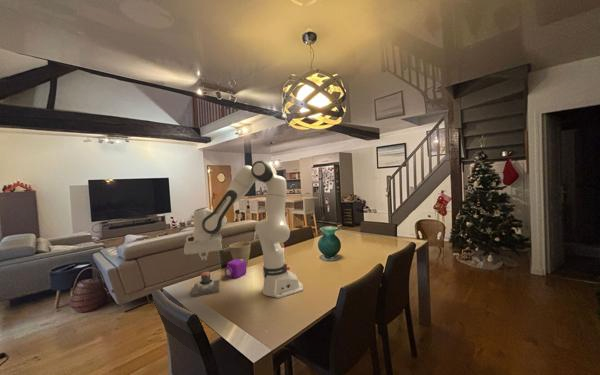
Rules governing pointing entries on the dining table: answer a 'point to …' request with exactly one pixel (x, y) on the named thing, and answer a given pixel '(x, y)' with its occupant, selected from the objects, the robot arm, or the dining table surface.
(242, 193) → the robot arm
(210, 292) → the octagon ring plate
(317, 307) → the dining table surface
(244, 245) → the plant pot
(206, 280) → the dome-topped dark cylinder
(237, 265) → the toy camera
